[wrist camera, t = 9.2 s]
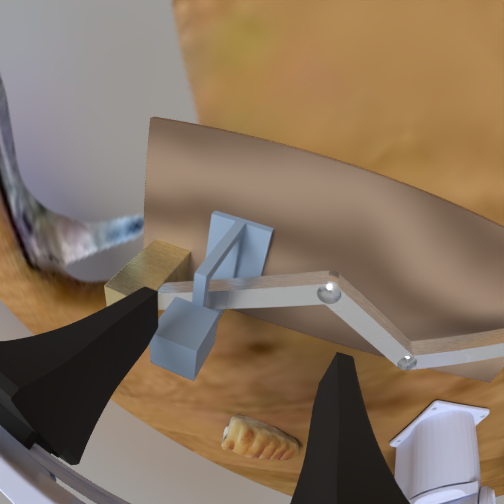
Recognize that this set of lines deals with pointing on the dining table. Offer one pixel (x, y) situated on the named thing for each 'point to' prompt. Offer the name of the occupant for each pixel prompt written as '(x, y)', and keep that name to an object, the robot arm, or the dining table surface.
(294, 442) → the pastry
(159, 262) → the jointed linkage mechanism
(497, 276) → the tan flat sheet
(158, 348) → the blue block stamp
